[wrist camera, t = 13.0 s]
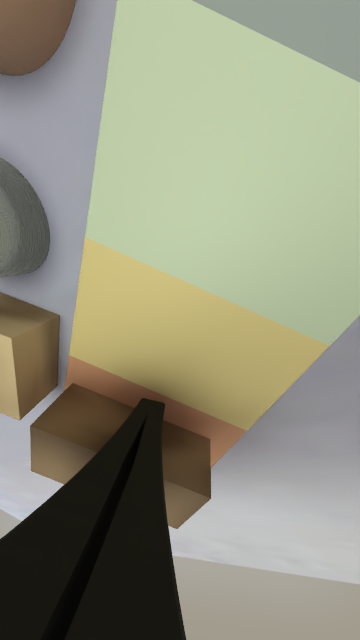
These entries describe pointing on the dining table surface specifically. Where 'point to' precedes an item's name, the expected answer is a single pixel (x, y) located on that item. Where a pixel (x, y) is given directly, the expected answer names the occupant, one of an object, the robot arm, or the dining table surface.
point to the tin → (20, 224)
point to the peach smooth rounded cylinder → (31, 32)
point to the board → (221, 207)
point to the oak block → (26, 355)
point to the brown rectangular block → (98, 427)
